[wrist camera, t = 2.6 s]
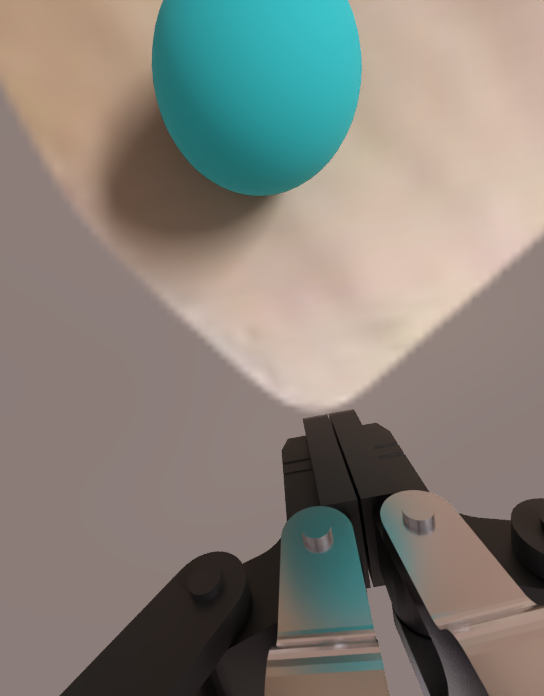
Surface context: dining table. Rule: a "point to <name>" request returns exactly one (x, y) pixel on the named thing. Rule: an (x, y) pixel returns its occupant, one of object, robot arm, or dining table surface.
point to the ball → (257, 87)
